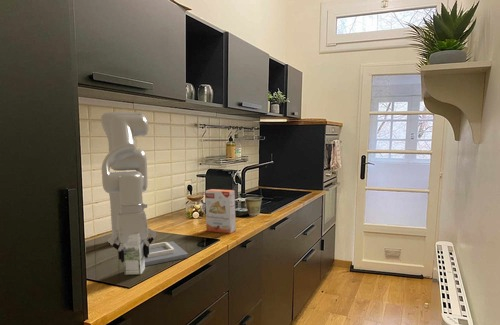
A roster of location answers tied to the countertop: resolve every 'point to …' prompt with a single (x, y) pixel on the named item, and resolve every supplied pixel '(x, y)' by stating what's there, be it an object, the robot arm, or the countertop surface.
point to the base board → (164, 253)
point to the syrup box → (134, 255)
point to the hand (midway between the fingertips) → (134, 258)
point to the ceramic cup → (253, 205)
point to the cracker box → (220, 210)
